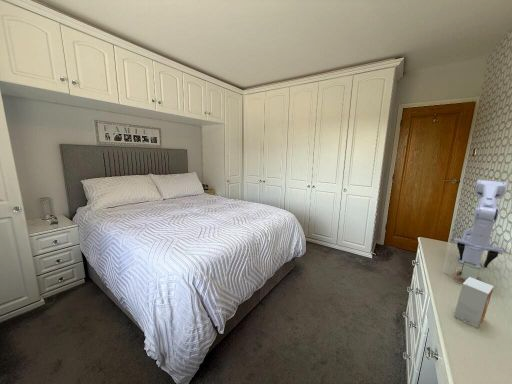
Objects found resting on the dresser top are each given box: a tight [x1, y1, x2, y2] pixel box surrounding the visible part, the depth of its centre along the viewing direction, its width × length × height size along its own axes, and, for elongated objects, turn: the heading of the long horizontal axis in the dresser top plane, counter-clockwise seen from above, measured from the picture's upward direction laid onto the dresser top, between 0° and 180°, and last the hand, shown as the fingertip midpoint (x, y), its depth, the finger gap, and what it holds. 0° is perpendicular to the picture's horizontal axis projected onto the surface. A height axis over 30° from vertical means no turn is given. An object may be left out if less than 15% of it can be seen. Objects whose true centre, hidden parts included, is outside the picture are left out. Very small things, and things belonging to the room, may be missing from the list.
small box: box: [453, 277, 495, 329], centre depth 73 cm, size 8×6×13 cm
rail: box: [454, 261, 481, 284], centre depth 98 cm, size 16×8×6 cm, turn 136°
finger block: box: [461, 263, 480, 280], centre depth 95 cm, size 6×4×7 cm
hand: (472, 263), depth 94 cm, fingers open, 7 cm apart
